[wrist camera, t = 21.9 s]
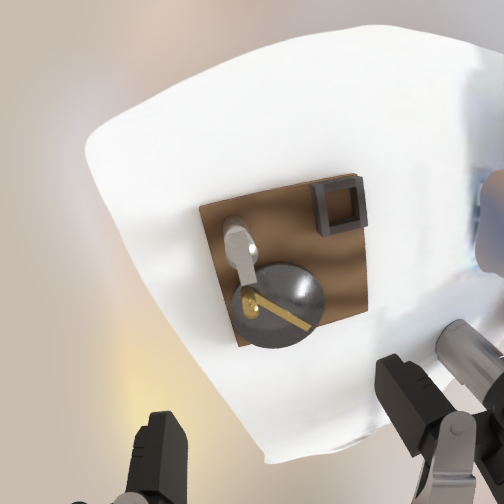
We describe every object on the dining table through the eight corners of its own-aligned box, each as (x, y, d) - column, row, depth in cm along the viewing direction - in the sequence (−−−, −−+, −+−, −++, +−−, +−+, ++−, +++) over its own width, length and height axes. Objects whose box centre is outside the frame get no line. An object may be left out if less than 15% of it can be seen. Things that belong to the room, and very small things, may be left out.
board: (364, 307, 43) (374, 318, 40) (238, 342, 42) (239, 356, 39) (353, 173, 36) (365, 175, 33) (199, 206, 35) (197, 211, 32)
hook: (250, 242, 36) (265, 280, 26) (227, 247, 36) (233, 288, 26) (241, 204, 34) (253, 228, 24) (218, 210, 34) (219, 236, 24)
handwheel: (268, 242, 35) (279, 262, 29) (338, 291, 38) (358, 315, 32) (212, 317, 37) (212, 347, 31) (283, 354, 41) (294, 384, 35)
